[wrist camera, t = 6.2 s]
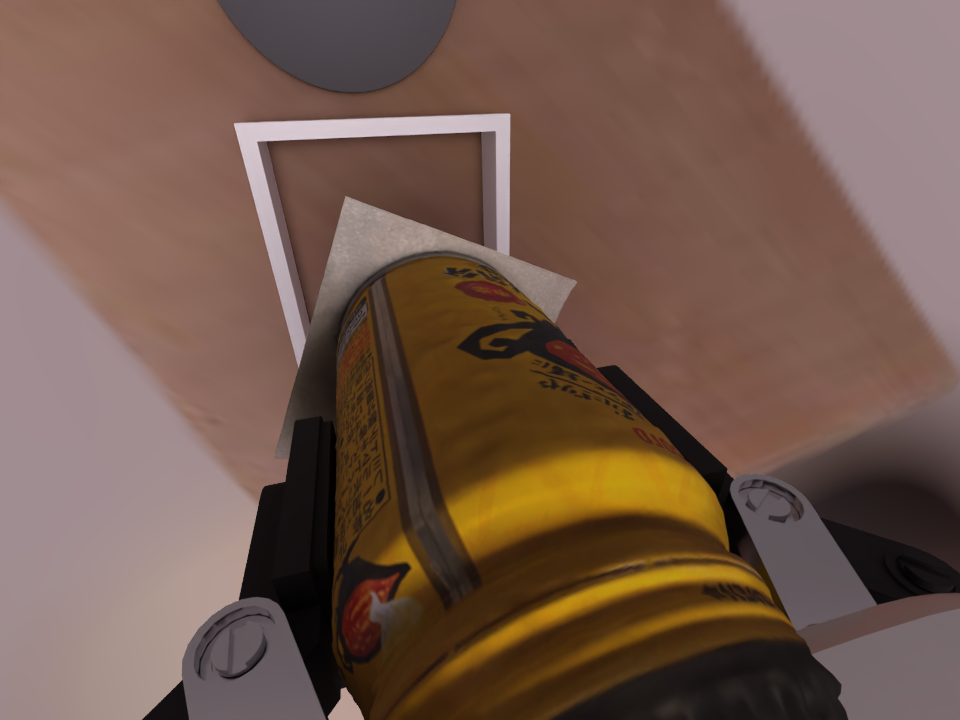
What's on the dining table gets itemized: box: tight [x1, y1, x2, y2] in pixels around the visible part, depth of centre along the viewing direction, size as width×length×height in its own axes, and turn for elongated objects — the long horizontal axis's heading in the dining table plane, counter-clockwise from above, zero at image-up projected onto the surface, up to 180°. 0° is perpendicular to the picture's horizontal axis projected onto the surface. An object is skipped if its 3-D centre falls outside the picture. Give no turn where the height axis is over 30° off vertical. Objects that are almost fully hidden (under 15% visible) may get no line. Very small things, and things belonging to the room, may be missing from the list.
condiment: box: [274, 196, 848, 720], centre depth 9 cm, size 7×8×12 cm
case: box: [234, 113, 510, 368], centre depth 22 cm, size 16×14×15 cm
